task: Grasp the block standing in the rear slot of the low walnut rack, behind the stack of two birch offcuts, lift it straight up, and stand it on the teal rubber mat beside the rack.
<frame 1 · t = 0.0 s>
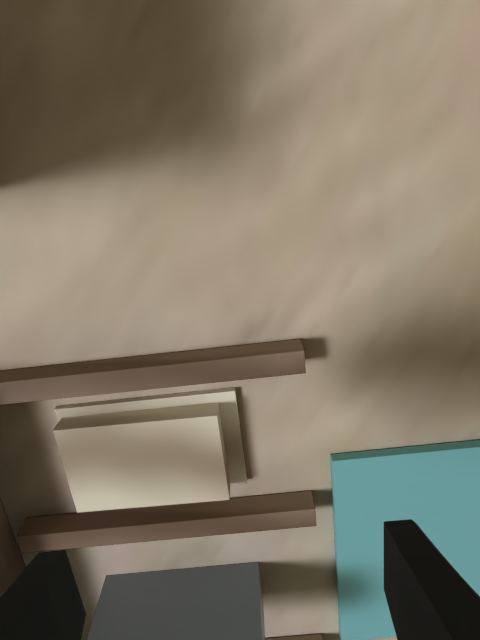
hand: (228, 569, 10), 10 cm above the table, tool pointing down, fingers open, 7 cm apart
block: (185, 584, 24), on the table
rack: (172, 527, 23), on the table
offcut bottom: (157, 434, 22), on the table, touching offcut top
mat: (453, 540, 23), on the table
offcut top: (148, 452, 21), resting on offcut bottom
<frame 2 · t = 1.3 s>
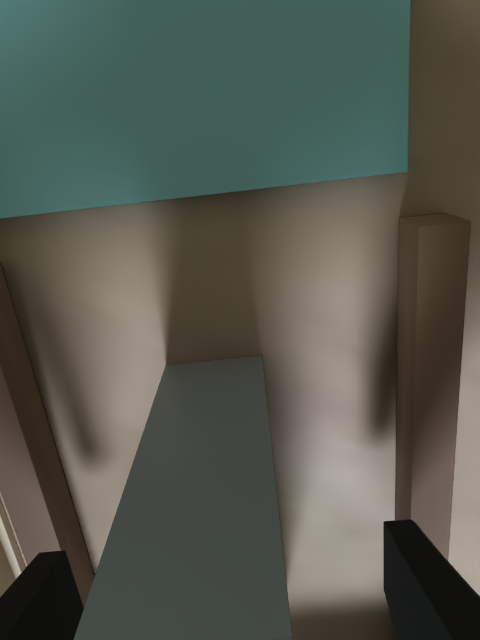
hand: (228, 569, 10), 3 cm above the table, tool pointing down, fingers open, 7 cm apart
block: (232, 488, 13), on the table
rack: (90, 503, 13), on the table
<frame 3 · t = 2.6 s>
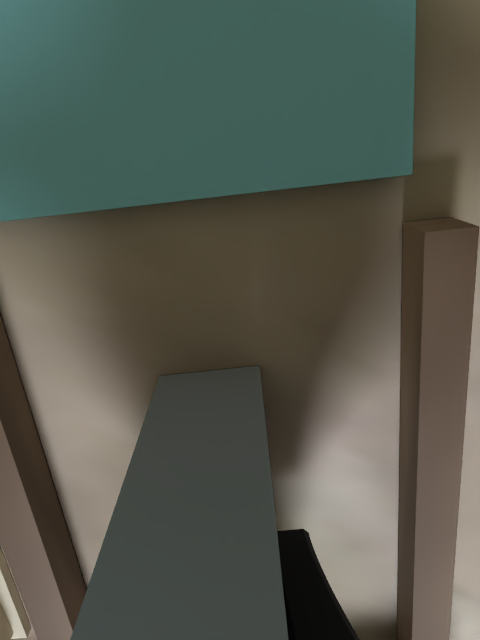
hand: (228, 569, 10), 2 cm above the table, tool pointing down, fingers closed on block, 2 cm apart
block: (229, 504, 12), on the table, touching gripper
rack: (82, 518, 12), on the table
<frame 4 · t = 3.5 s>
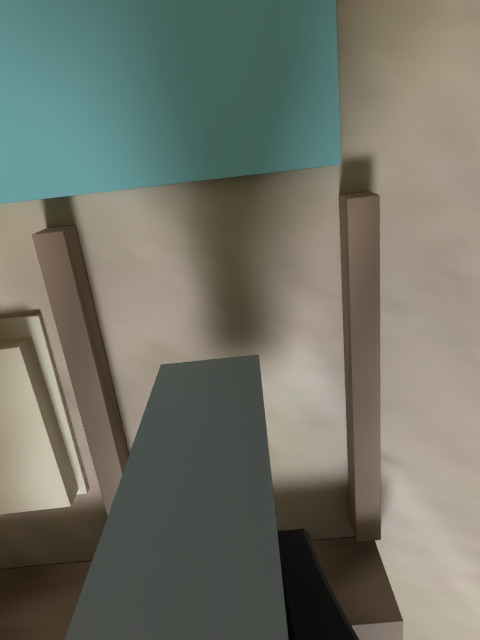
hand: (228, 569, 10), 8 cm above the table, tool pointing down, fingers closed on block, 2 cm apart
block: (229, 491, 13), point 6 cm above the table, touching gripper
rack: (129, 401, 18), on the table
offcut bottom: (13, 404, 19), on the table, touching offcut top
offcut top: (2, 424, 18), resting on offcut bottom
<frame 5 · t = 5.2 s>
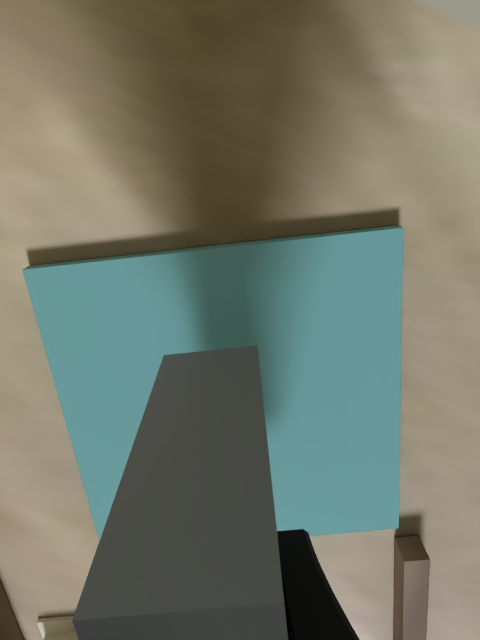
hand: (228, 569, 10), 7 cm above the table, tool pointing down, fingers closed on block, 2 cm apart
block: (229, 477, 13), point 4 cm above the table, touching gripper
mat: (232, 406, 17), on the table
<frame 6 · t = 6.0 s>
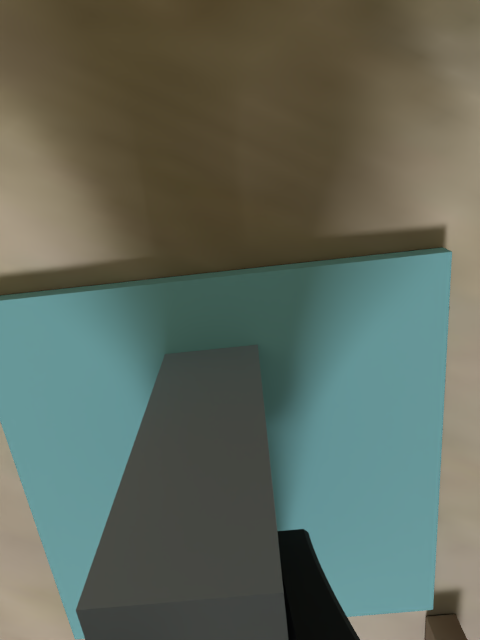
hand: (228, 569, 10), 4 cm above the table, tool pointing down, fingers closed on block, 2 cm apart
block: (229, 475, 13), resting on mat, touching gripper
mat: (230, 467, 14), on the table
when the fingers open (4 cm above the table, at t = 6.6 s): block stays where it is, resting on mat.
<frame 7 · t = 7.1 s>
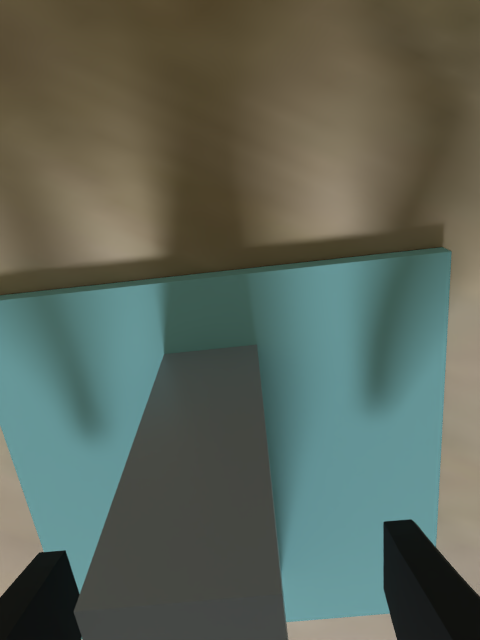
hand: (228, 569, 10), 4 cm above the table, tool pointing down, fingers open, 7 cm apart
block: (228, 476, 13), resting on mat
mat: (230, 468, 14), on the table
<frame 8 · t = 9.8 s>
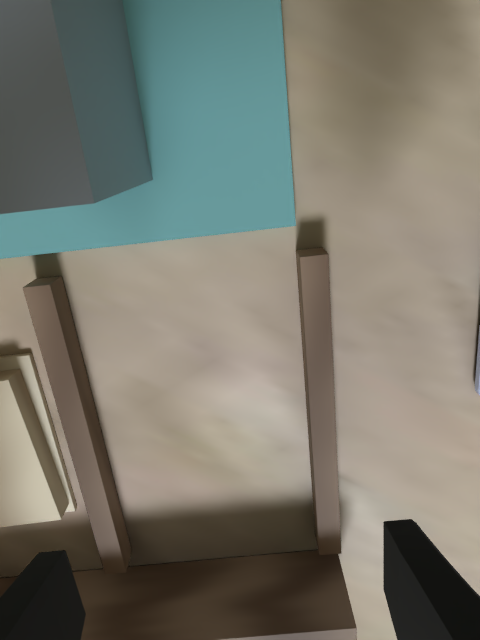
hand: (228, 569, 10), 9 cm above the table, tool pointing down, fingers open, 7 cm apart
block: (93, 53, 15), resting on mat
rack: (112, 429, 20), on the table
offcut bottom: (8, 430, 21), on the table, touching offcut top
mat: (99, 60, 15), on the table
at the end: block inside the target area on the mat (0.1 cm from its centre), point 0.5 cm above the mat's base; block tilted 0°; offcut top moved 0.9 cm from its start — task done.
